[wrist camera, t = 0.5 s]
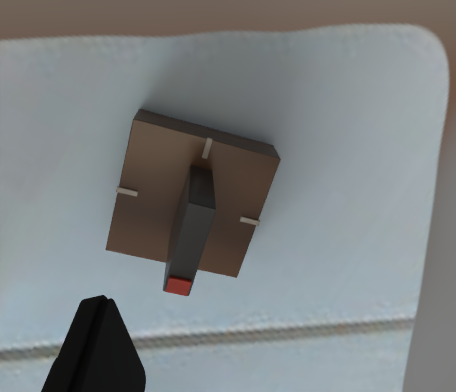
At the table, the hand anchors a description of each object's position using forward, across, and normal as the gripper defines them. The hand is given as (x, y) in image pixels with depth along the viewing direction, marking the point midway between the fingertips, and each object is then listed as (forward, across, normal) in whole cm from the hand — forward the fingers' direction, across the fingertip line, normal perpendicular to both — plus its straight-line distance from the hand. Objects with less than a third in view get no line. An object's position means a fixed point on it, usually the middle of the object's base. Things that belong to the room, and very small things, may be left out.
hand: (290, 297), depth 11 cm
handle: (+17, +4, +4) cm, 18 cm away
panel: (+20, +4, +4) cm, 21 cm away
